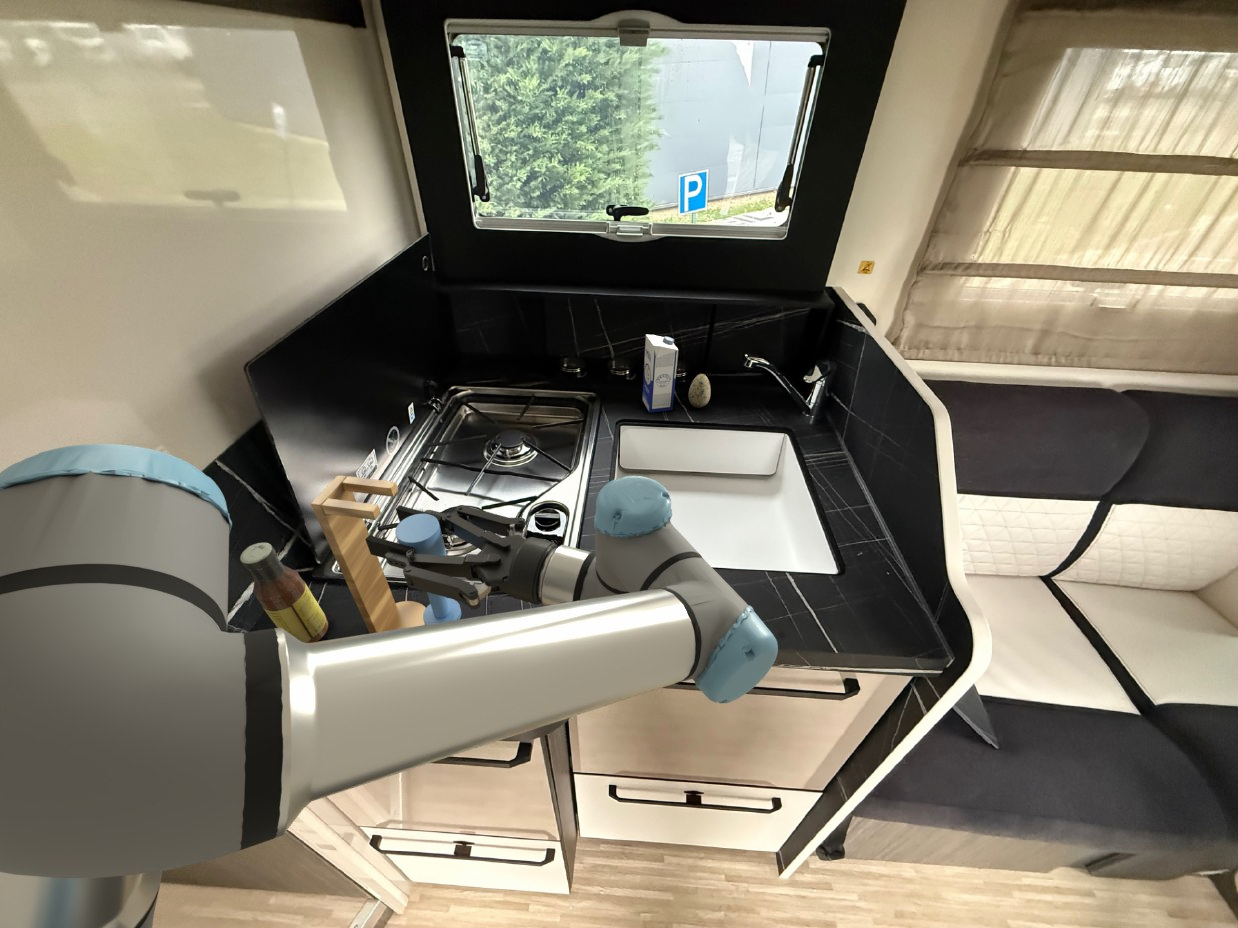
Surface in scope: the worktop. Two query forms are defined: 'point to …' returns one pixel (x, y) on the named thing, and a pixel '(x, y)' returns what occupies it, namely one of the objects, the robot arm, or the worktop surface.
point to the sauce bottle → (284, 594)
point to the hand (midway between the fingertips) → (385, 529)
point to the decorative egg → (699, 391)
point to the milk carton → (659, 373)
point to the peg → (429, 541)
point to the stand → (362, 552)
